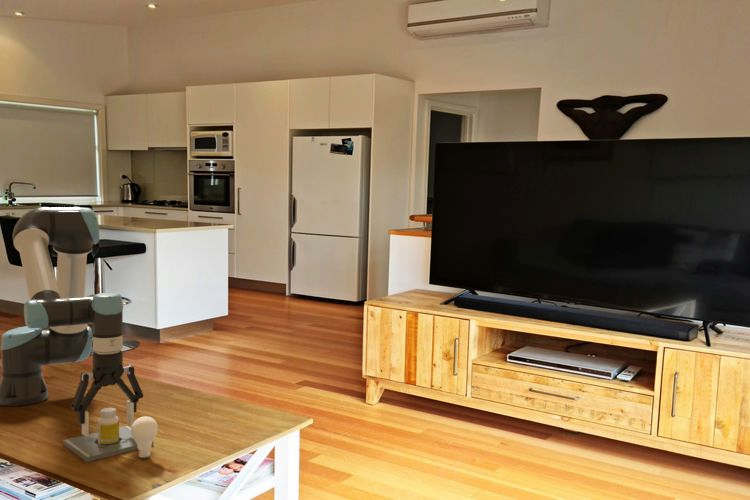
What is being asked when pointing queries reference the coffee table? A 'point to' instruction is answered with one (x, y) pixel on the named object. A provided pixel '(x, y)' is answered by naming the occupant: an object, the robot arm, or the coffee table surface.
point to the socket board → (92, 451)
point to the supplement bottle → (108, 427)
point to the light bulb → (144, 434)
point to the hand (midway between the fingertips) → (108, 429)
